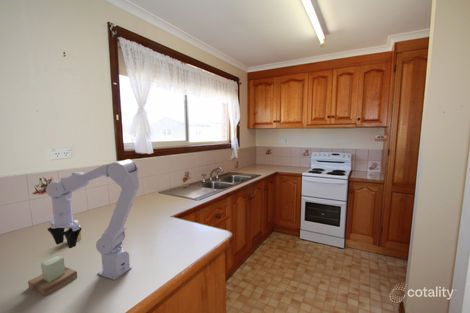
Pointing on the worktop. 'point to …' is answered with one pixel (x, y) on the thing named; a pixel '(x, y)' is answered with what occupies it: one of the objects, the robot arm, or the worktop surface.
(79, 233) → the supplement bottle
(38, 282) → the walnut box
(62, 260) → the sage-green block
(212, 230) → the worktop surface
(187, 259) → the worktop surface
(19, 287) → the worktop surface
